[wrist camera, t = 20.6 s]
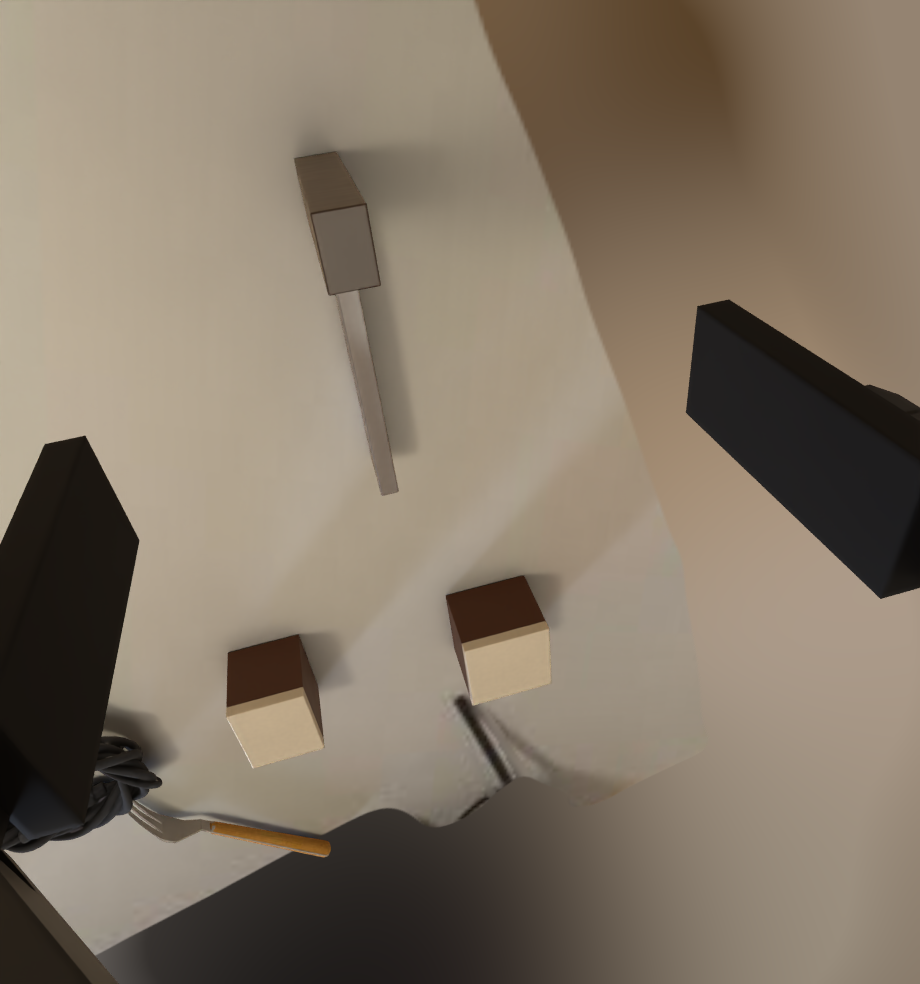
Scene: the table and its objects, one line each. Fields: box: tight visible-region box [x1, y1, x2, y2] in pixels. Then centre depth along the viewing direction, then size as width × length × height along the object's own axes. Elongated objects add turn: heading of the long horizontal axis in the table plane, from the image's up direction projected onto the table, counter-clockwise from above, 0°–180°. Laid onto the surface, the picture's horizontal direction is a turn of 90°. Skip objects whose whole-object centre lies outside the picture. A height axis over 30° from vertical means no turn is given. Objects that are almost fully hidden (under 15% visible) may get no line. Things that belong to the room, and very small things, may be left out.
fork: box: [128, 800, 331, 857], centre depth 59 cm, size 2×2×20 cm
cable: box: [1, 736, 162, 853], centre depth 48 cm, size 17×14×4 cm
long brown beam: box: [294, 152, 399, 496], centre depth 33 cm, size 2×17×10 cm, turn 6°
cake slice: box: [226, 635, 324, 768], centre depth 48 cm, size 5×6×6 cm
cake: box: [446, 576, 551, 705], centre depth 50 cm, size 6×6×6 cm
